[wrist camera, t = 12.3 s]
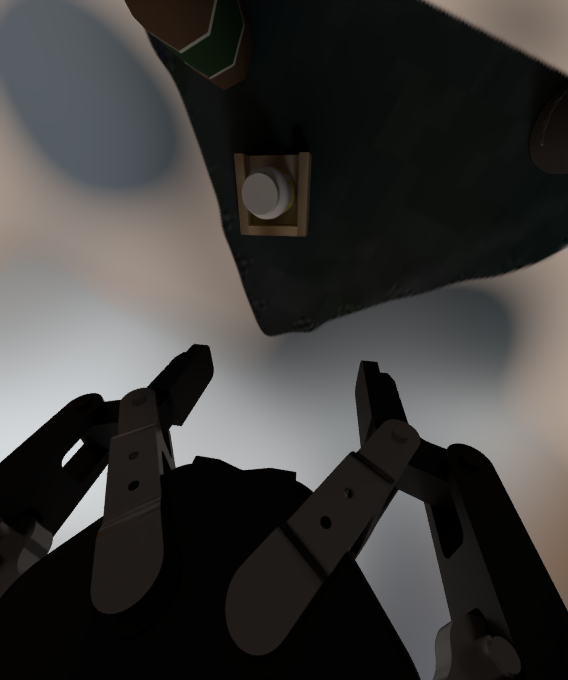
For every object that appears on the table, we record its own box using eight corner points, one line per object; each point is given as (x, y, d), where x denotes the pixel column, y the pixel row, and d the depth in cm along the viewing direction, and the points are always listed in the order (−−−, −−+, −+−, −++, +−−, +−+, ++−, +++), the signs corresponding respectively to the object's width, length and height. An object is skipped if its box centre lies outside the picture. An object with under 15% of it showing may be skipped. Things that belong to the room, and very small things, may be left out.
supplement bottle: (250, 187, 34) (225, 187, 26) (281, 159, 32) (263, 149, 24) (273, 222, 36) (256, 232, 28) (303, 197, 34) (294, 200, 26)
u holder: (311, 155, 32) (309, 152, 29) (307, 232, 37) (305, 236, 34) (242, 156, 34) (234, 153, 31) (248, 231, 38) (241, 234, 36)
